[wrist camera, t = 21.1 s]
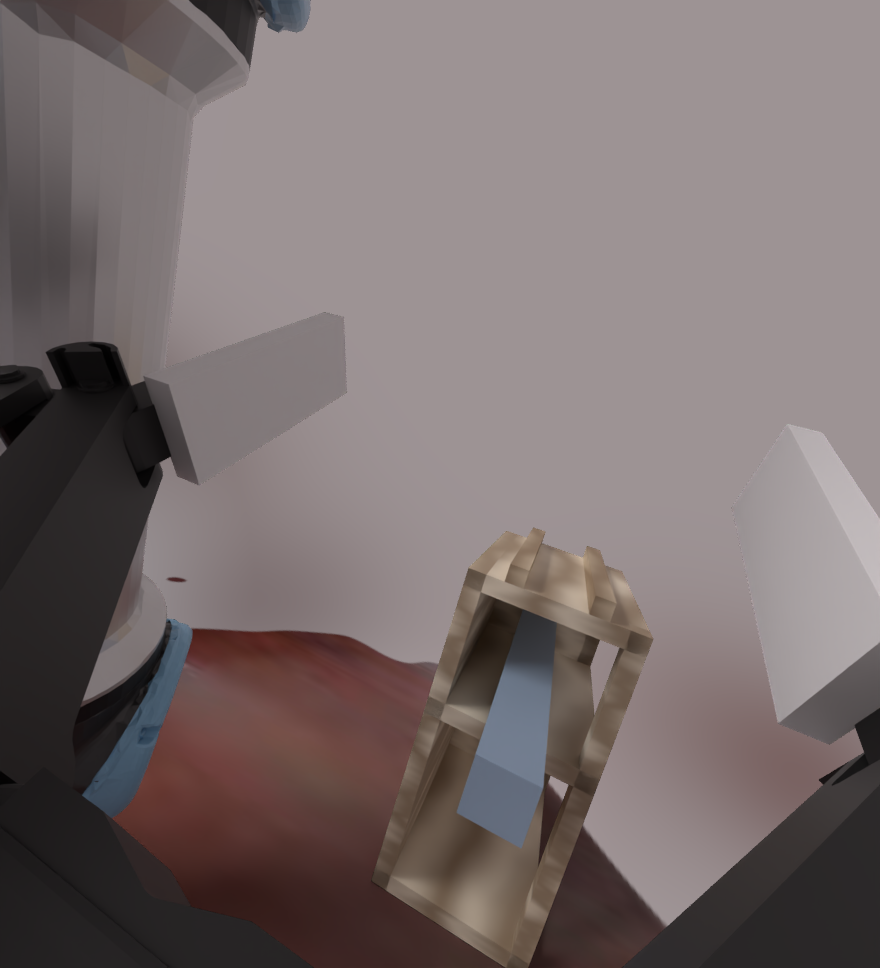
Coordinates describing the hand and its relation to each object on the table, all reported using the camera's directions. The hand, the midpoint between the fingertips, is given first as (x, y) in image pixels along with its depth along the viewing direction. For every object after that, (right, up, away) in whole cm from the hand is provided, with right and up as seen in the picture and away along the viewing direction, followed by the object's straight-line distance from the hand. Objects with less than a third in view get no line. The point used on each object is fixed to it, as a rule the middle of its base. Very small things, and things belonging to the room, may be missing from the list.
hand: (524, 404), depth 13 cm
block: (+4, -22, +24) cm, 33 cm away
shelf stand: (+1, -39, +32) cm, 51 cm away
